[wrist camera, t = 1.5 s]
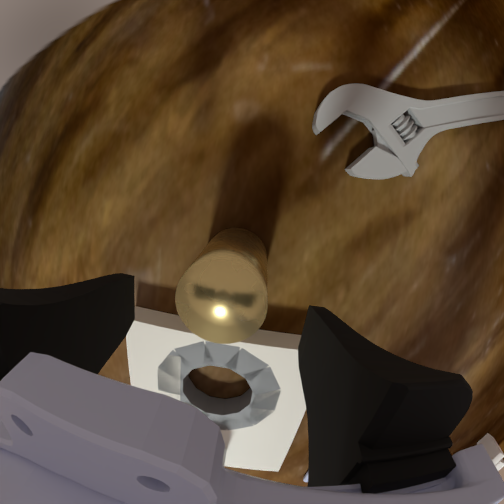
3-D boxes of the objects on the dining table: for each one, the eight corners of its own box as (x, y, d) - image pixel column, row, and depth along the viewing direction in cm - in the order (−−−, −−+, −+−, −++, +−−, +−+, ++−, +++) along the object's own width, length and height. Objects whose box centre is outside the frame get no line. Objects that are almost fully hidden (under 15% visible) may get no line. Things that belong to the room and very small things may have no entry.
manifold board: (322, 337, 20) (335, 380, 15) (278, 456, 25) (278, 494, 20) (135, 306, 20) (105, 340, 15) (147, 434, 25) (133, 468, 20)
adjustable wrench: (529, 89, 14) (540, 87, 12) (543, 151, 15) (555, 152, 14) (305, 96, 16) (309, 89, 15) (331, 191, 18) (338, 193, 16)
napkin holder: (496, 449, 27) (507, 468, 22) (450, 475, 29) (460, 497, 23) (524, 398, 24) (541, 419, 18) (475, 430, 25) (491, 455, 19)
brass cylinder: (271, 232, 18) (275, 268, 12) (261, 290, 19) (259, 350, 13) (209, 223, 18) (178, 252, 12) (203, 281, 19) (173, 334, 13)
